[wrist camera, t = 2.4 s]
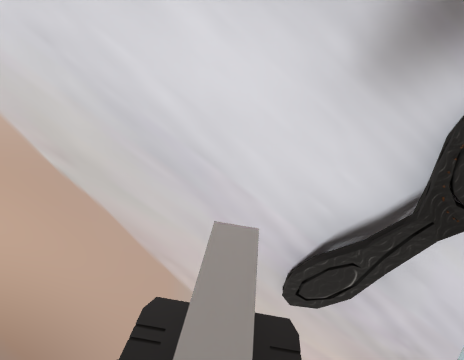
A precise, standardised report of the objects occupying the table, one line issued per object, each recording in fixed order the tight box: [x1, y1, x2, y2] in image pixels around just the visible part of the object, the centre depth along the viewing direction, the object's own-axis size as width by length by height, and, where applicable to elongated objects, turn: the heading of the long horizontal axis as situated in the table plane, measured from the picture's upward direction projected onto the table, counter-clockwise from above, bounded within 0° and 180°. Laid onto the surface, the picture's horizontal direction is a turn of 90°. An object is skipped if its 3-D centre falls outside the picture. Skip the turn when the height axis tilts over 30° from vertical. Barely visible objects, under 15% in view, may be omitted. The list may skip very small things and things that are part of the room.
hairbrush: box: [282, 116, 464, 309], centre depth 21 cm, size 8×4×25 cm
